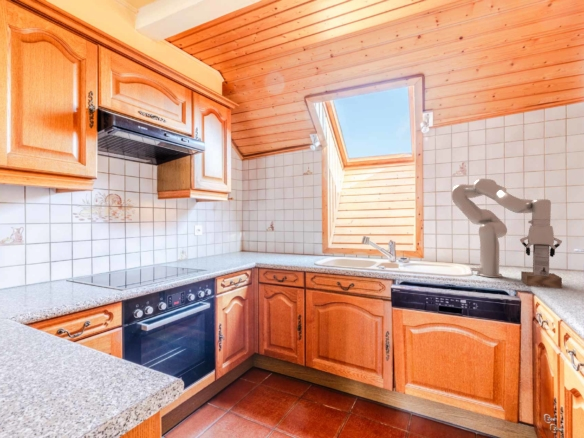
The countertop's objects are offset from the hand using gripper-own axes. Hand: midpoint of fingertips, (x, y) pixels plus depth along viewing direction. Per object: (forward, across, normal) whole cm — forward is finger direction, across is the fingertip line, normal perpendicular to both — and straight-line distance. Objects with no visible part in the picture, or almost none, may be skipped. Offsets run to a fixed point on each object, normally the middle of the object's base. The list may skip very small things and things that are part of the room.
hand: (539, 255), depth 160 cm
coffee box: (+10, +1, 0) cm, 10 cm away
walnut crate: (+15, 0, 0) cm, 15 cm away
